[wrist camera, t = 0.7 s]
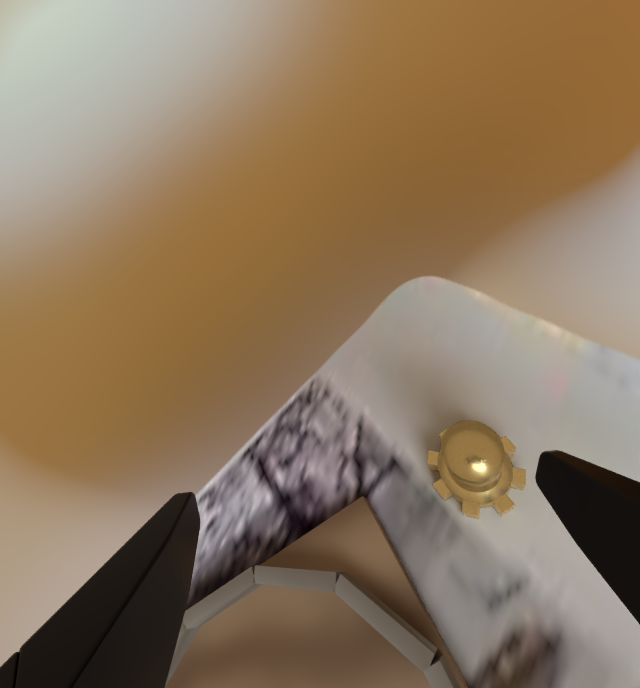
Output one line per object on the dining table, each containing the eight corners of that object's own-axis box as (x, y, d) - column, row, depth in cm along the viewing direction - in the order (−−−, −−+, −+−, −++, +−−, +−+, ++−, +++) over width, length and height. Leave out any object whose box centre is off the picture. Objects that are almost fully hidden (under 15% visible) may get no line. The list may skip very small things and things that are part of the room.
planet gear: (544, 487, 20) (561, 465, 16) (469, 537, 20) (464, 529, 16) (478, 417, 24) (476, 382, 19) (415, 459, 24) (398, 435, 20)
